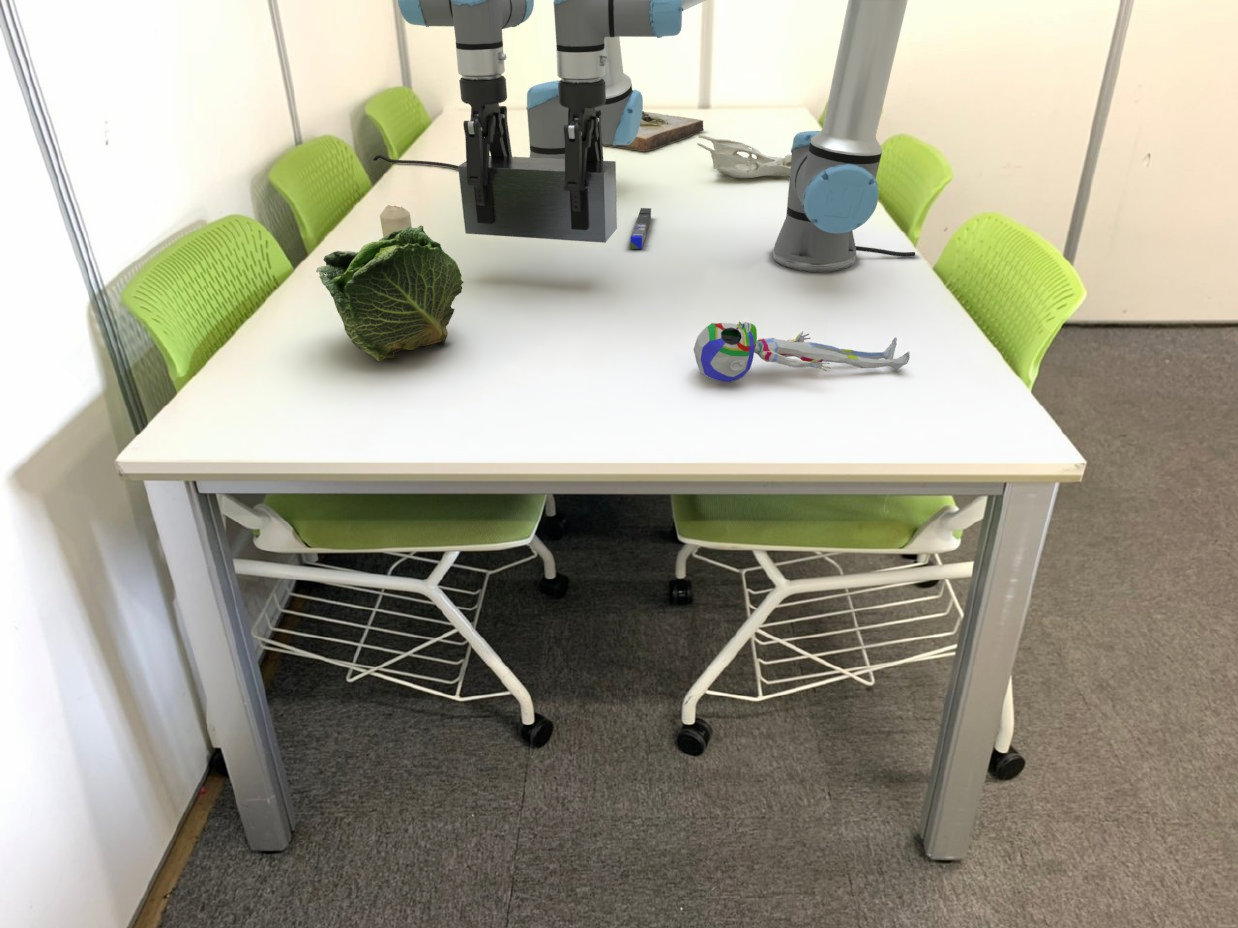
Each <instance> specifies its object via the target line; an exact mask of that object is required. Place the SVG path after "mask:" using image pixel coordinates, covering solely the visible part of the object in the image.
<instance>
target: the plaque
mask: <svg viewBox="0 0 1238 928" xmlns="http://www.w3.org/2000/svg"><path fill="white" fill-rule="evenodd" d="M704 130H705V129H704V120H702V119H698V118H693V117H685V116H679V115H669V114H663V113H659V112H650V111H644V110H642V118H641V123H640V127H639V130H638V133H637V136H636V138H635V139H634V141H633V142H632V143H631V144H628V145H615V146H613V145H611V144H602V146H607V147H612V148H620V149H625V150H632V151H640V152H648V151H654V150H656V149H659V148H662V147H663V146H664V147H665V146H667V145H670V144H672V143H676V142H680V141H682V140H684V139H687V138H691V137H692V136H694V135H696V134H698V133H700V132H704Z"/></svg>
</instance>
